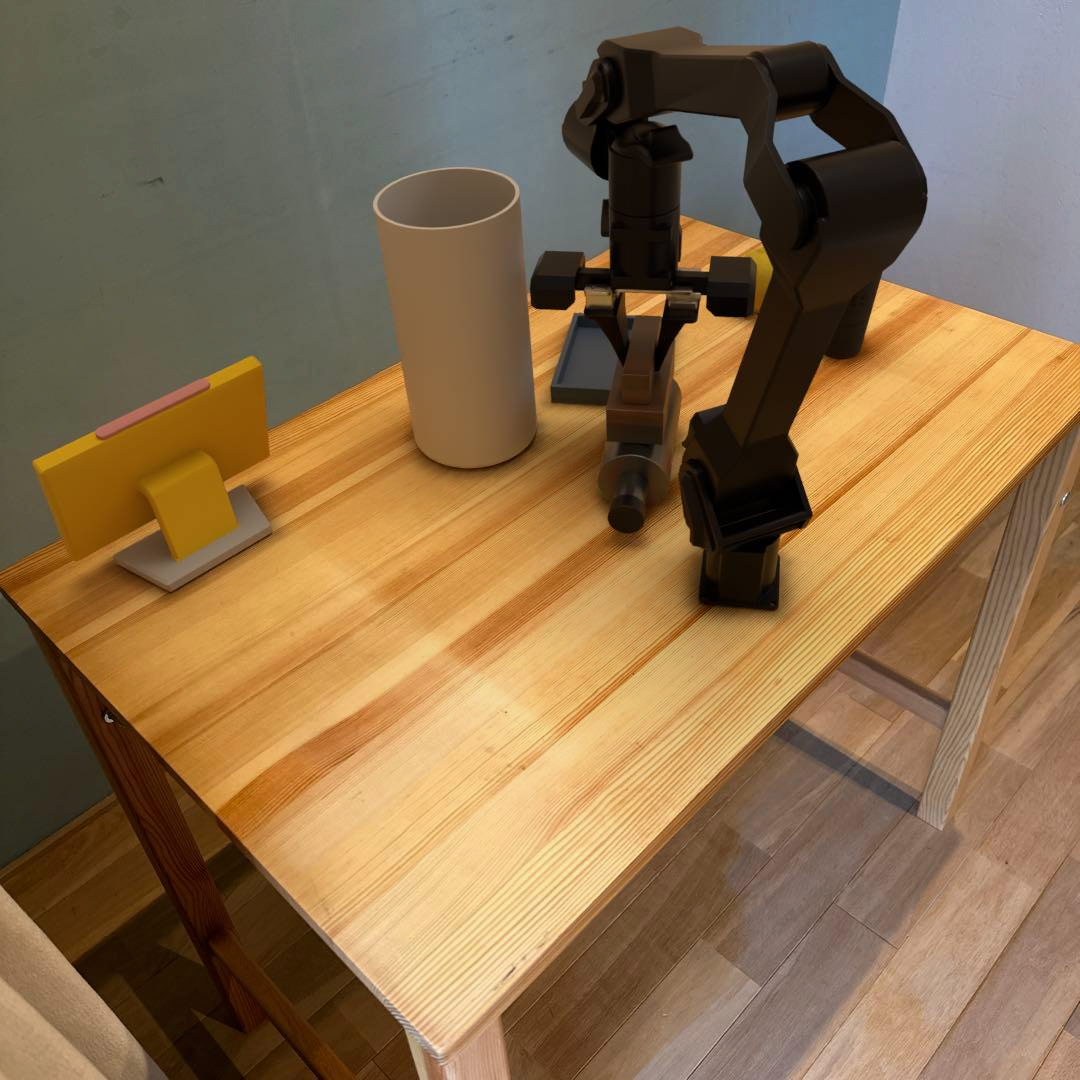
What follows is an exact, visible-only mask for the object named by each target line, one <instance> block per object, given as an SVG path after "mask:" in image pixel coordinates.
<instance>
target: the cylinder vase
mask: <svg viewBox="0 0 1080 1080" xmlns="http://www.w3.org/2000/svg"><path fill="white" fill-rule="evenodd" d="M372 204H373V205H372V207H373V212H374V218H375V223H376V229H377V235H378V241H379V246H380V247H379V248H380V252H381V258H382V264H383V269H384V274H385V280H386V285H387V286H386V287H387V291H388V296H389V302H390V307H391V314H392V319H393V326H394V330H395V331H394V332H395V336H396V340H397V342H396V343H397V347H398V353H399V358H400V359H399V360H400V365H401V370H402V375H403V381H404V387H405V392H406V397H407V404H408V408H409V414H410V421H411V424H412V425H411V426H412V431H413V437H414V440H415V443H416V445H417V447H418V449H419V450H420V452H422V453H423V454H424V455H425V456H427V458H429V459H430V460H432V461H434V462H435V463H439V464H441V465H444V466H448V467H453V468H457V469H458V468H459V469H479V468H480V469H481V468H487V467H491V466H495V465H498V464H501V463H503V462H506V461H509V460H511V459H512V458H515V457H516V456H517V455H519V454H521V453H522V452H524V450H525V449H527V447H528V446H529V445H530V444H531V442H532V441H533V439H534V437H535V434H536V432H537V428H538V417H537V404H536V403H537V402H536V391H535V390H536V389H535V380H534V379H535V378H534V365H533V364H534V363H533V352H532V351H533V350H532V338H531V337H532V336H531V324H530V310H529V300H528V299H529V298H528V285H527V273H526V272H527V271H526V259H525V258H526V257H525V246H524V233H523V232H524V231H523V219H522V206H521V205H522V204H521V194H520V187H519V185H518V183H517V182H516V181H515V180H514V179H513V178H511V177H510V176H508V175H506V174H503V173H501V172H498V171H495V170H492V169H487V168H482V167H481V168H480V167H468V166H460V167H459V166H458V167H457V166H453V167H452V166H451V167H442V168H434V169H429V170H424V171H420V172H419V171H418V172H415V173H411V174H409V175H406V176H403V177H401V178H399V179H397V180H394V181H392V182H391V183H389V184H387V185H386V186H385V187H383V188H382V189H381V190H380V191H379V192H378V193H377V194H376V195H375V196H374V198H373V202H372Z"/></svg>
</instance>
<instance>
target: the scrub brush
mask: <svg viewBox="0 0 1080 1080" xmlns="http://www.w3.org/2000/svg"><path fill="white" fill-rule="evenodd" d="M661 317H662V316H661V315H646V314H645V315H644V314H643V315H642V314H641V315H640V314H636V315H635V319H634V323H633V328H632V332H631V337H629V346H628V350H627V355H626V359H625V364H624V368H623V366H622V364H621V362H620V360H619V358H618V360H617V364H616V368H615V373H614V377H613V381H612V385H611V390H610V394H609V398H608V403H607V405H606V408H605V437H606V439H605V442H606V441H608V442H624V443H640V444H656V445H663V439H664V432H665V426H666V420H667V413H668V407H669V400H670V394H671V387H672V381H673V379H674V374H675V362H676V361H675V358H676V338H675V339H674V341H673V342H672V344H671V346H670V348H669V351H668V353H667V355H666V357H665V360H664V362H663V364H662V366H661V369H660V371H659V372H655V355H656V350H657V344H658V339H659V333H660V328H661Z"/></svg>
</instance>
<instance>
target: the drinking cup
mask: <svg viewBox="0 0 1080 1080" xmlns="http://www.w3.org/2000/svg"><path fill="white" fill-rule="evenodd" d="M883 272H884V271H883ZM883 272H882V273H880V274H879V275H878V276H876V277H875V278H874V279H873V280H871V281H870V282H869V283H868V284H866V285H865V286H864V287H863V288H861V289H860V290H859V291H858V292H856V293H855V294H854V295H853V296H852V298H851V299H850V300H849V302H848V305H847V307H846V309H845V311H844V313H843V315H842V318H841V320H840V322H839V324H838V326H837V328H836V331H835V333H834V335H833V337H832V339H831V341H830V344H829V346H828V348H827V350H826V352H825V354H824V357H827V358H831V359H836V360H844V359H845V360H846V359H850V358H853V357H856V356H857V355H858V354H860V352H861V350H862V347H863V343H864V340H865V336H866V333H867V329H868V325H869V321H870V318H871V315H872V311H873V308H874V304H875V300H876V297H877V294H878V290H879V287H880V282H881V280H882V276H883Z"/></svg>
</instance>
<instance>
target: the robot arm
mask: <svg viewBox="0 0 1080 1080" xmlns="http://www.w3.org/2000/svg"><path fill="white" fill-rule="evenodd" d="M596 53H597V54H598V55H597V56H598V58H595V59H593V60H592V62H591V64H590V65H589V69H588V72H587V75H586V78H585V79H584V80H583V81H582V82H581V92H580V94H579V95H578V98H577V99H576V100H574V101H573V103H572V104H571V105H570V106H569V108H568V110H567V112H566V114H565V116H564V118H563V119H564V120H563V122H562V125H561V137H562V141H563V143H564V146H565V147H566V149H567V150H568V152H570V154H572V156H574V157H575V158H576V159H577V160H579V162H580V163H582V164H583V165H584V166H586V167H587V169H589V170H590V171H591V172H592V173H593V174H595V176H597V177H599V178H600V179H602V180H604V181H607V182H608V198H607V197H606V198H603V199H602V204H601V213H600V236H601V237H602V238H608V241H609V242H608V244H609V246H608V248H609V249H608V250H609V267H588V266H587V267H586V255H585V252H584V251H572V250H571V251H566V250H544V252H543V253H542V254H541V255H540V256H539V257H538V259H537V262H536V264H535V267H534V269H533V272H532V275H531V277H530V283H529V296H530V297H529V298H530V307H532V308H534V309H535V310H543V311H545V310H546V311H567V310H568V309H570V307H571V306H573V305H574V304H575V302H576V299H577V298H576V297H577V296H576V292H577V291H579V292H583V295H584V297H585V305H584V308H583V313H584V317H585V318H586V319H591V320H595V321H596V323H597V324H598V325H599V327H600V328H601V330H602V331H603V332H604V334H605V335H606V337H607V338H608V340H609V341H610V343H611V345H612V347H613V349H614V351H615V353H616V355H617V356H618V358H619V360H620V362H621V364H622V366H623V368H624V364H625V359H626V355H627V350H628V346H629V333H628V325H627V316H626V315H627V307H626V293H627V294H648V295H649V294H652V295H665V301H664V306H663V311H662V316H661V317H662V322H661V328H660V333H659V339H658V344H657V350H656V355H655V372H659V371H660V369H661V366H662V364H663V362H664V360H665V357H666V355H667V353H668V351H669V348H670V346H671V344H672V342H673V341H674V339H675V340H676V338H677V336H678V335H679V334H680V333H681V330H682V329H683V327H684V326H685V325H693V324H696V323H698V319H699V312H700V305H701V301H702V300H701V299H702V296H706V299H705V309H706V310H707V311H708V312H709V313H710V314H711V315H712V316H714V317H715V318H737V319H738V318H739V319H748V318H750V317H753V316H754V313H755V312H754V304H755V292H756V277H757V264H756V263H755V261H754V260H753V259H752V258H751V257H744V256H729V255H710V260H709V267H708V271H707V270H706V271H705V270H704V271H703V269H702V268H701V267H682V266H681V267H680V266H679V263H681V259H682V250H683V249H682V248H683V247H682V246H683V228H682V225H681V195H682V194H681V191H682V169H683V167H682V165H683V162H684V163H685V162H689V161H692V160H693V159H694V156H695V155H694V152H693V148H692V146H691V144H690V143H689V142H688V141H687V140H686V139H685V138H684V137H683V135H682V134H681V132H680V129H679V127H678V125H677V124H670V125H666V124H664V123H662V122H660V121H656V120H655V121H654V120H649V119H650V118H653V117H658V116H663V115H668V114H672V113H685V114H694V115H702V116H710V117H718V118H727V119H735V120H739V121H740V123H741V125H742V127H743V129H744V131H745V133H746V135H747V142H746V143H747V144H746V153H745V159H744V160H745V161H744V168H743V176H742V183H743V187H744V189H745V192H746V194H747V196H748V197H749V200H750V201H751V204H752V206H753V208H754V210H755V212H756V214H757V216H758V217H759V220H760V227H759V233H758V237H759V240H760V242H761V244H762V247H764V249H765V251H766V254H767V256H768V258H769V260H770V262H771V265H772V267H773V272H772V276H771V279H770V282H769V285H768V288H767V291H766V293H765V296H764V299H763V302H762V305H761V307H760V310H759V312H757V316H756V319H755V321H754V324H753V327H752V330H751V332H750V336H749V338H748V342H747V344H746V347H745V349H744V352H743V355H742V358H741V361H740V364H739V367H738V370H737V372H736V375H735V378H734V380H733V383H732V386H731V389H730V392H729V395H728V397H727V400H726V403H724V404H720V405H717V406H713V407H710V408H707V409H704V410H700V411H696V412H695V413H694V414H693V416H692V417H691V418H690V420H689V424H688V430H687V434H686V437H685V439H684V440H682V441H681V446H682V448H684V451H683V453H682V455H681V456H682V457H681V464H680V465H679V469H678V473H677V477H678V484H679V485H678V486H679V491H680V499H681V504H682V505H681V507H682V513H683V518H684V522H685V526H687V528H688V529H689V540H688V541H689V543H690V544H691V545H692V546H693V547H696V548H701V550H702V557H701V558H702V559H701V565H700V566H701V567H700V577H699V586H698V596H697V598H698V599H697V600H698V603H699V604H701V605H707V606H718V607H729V608H738V609H739V608H740V609H750V610H761V611H777V610H779V607H780V581H781V580H780V579H781V578H780V577H781V556H780V555H779V550H780V544H781V543H780V542H781V536H782V535H784V534H786V533H791V532H793V531H796V530H803V529H806V528H808V527H807V526H808V525H809V523H810V522H811V520H812V519H813V517H814V513H813V510H812V507H811V504H810V500H809V498H808V494H807V492H806V489H805V486H804V483H803V480H802V476H801V474H800V471H799V467H798V465H797V464H798V460H799V456H800V454H799V452H798V450H797V448H796V446H795V444H794V442H793V441H792V438H791V437H790V430H791V428H792V426H793V424H794V421H795V419H796V418H797V415H798V413H799V411H800V409H801V406H802V404H803V402H804V400H805V398H806V395H807V394H808V391H809V389H810V388H811V385H812V382H813V380H814V378H815V376H816V374H817V371H818V369H819V368H820V365H821V363H822V361H823V359H824V357H825V356H824V354H825V352H826V350H827V348H828V346H829V344H830V341H831V339H832V337H833V335H834V333H835V331H836V328H837V326H838V324H839V322H840V320H841V318H842V315H843V313H844V311H845V309H846V307H847V305H848V302H849V300H850V299H851V298H852V296H853V295H854V294H855V293H856V292H858V291H859V290H860V289H861V288H863V287H864V286H865V285H866V284H868V283H869V282H870V281H871V280H873V279H874V278H875V277H876V276H878V275H879V274H880V273H882V272H884V271H886V270H887V269H888V268H889V267H890V266H892V265H893V264H894V263H895V262H896V261H897V259H898V258H899V257H900V256H901V254H902V253H903V251H904V250H905V248H907V245H909V243H910V242H911V240H912V239H913V238H914V236H915V235H916V234H917V232H918V231H919V229H920V228H921V226H922V224H923V221H924V218H925V215H926V212H927V207H928V202H929V201H928V200H929V197H928V192H929V189H928V179H927V175H926V174H925V173H926V172H925V171H924V167H923V165H922V163H921V162H920V159H918V157H917V155H916V153H915V151H914V149H913V147H912V145H911V144H910V142H909V140H908V139H907V136H906V134H905V133H904V131H903V129H902V127H901V125H900V123H899V122H898V120H897V118H896V116H895V115H894V114H893V113H892V111H891V110H890V109H888V108H887V107H885V106H884V105H883V104H881V103H880V102H879V101H878V100H876V99H875V98H874V97H872V96H871V95H870V94H868V93H867V92H866V91H864V90H863V89H862V88H860V87H859V86H857V85H856V84H855V83H854V82H852V81H851V80H850V79H848V78H847V77H846V76H845V75H844V72H843V71H842V68H841V67H840V66H839V63H838V62H837V60H836V58H835V57H834V55H833V53H832V52H831V50H830V48H828V46H827V45H825V44H822V43H820V42H818V43H816V42H814V41H811V40H810V39H809V40H804V41H798V42H793V43H789V44H784V45H783V44H782V45H781V44H779V45H778V44H775V45H774V44H773V45H771V44H769V45H767V44H766V45H765V44H763V45H762V44H761V45H760V44H759V45H758V44H757V45H756V44H755V45H752V44H751V45H750V44H749V45H747V44H745V45H741V44H740V45H739V44H738V45H736V44H735V45H733V44H732V45H731V44H730V45H729V44H728V45H727V44H723V45H722V44H721V45H718V44H716V45H715V44H714V45H712V44H711V45H710V44H705V43H704V38H703V35H701V34H700V33H698V32H696V31H694V30H691V29H688V28H686V27H684V26H680V25H677V26H672V27H671V26H670V27H666V28H660V29H655V30H649V31H644V32H639V33H633V34H628V35H623V36H617V37H611V38H607V39H604V40H602V41H600V43H599V45H598V46H597V48H596ZM806 116H809V118H810V121H811V122H812V123H813V124H814V126H815V127H816V128H817V129H819V130H821V131H822V132H823V133H825V134H826V135H827V136H828V137H830V138H831V139H832V140H834V141H835V142H836V143H838V144H839V145H840V146H842V147H843V149H839V150H834V151H830V152H826V153H822V154H817V155H813V156H808V157H804V158H799V159H797V160H796V159H795V160H792V161H788V162H785V163H784V161H783V159H782V157H781V155H780V153H779V151H778V149H777V146H776V145H775V143H774V134H775V125H776V123H777V122H778V123H779V122H783V121H787V120H791V119H796V118H801V117H806ZM882 274H883V273H882Z"/></svg>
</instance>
